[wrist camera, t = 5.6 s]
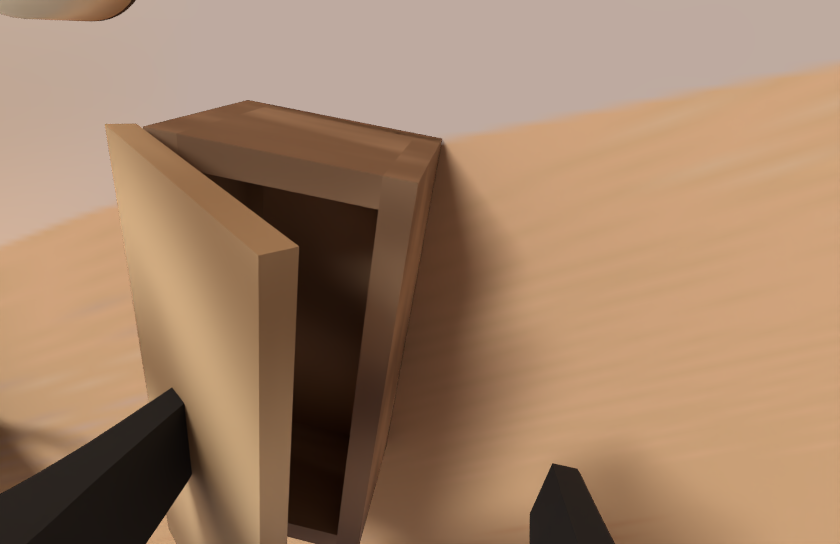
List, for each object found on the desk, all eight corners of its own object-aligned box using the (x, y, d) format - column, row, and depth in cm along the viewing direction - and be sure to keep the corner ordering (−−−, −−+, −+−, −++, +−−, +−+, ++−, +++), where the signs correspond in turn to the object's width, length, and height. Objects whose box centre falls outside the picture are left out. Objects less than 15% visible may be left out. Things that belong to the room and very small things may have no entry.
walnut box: (386, 445, 21) (356, 554, 17) (252, 414, 21) (189, 511, 17) (442, 138, 14) (418, 183, 10) (247, 100, 15) (143, 126, 10)
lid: (280, 694, 13) (260, 713, 13) (186, 518, 17) (168, 528, 16) (299, 246, 6) (258, 255, 6) (136, 123, 10) (105, 123, 10)
